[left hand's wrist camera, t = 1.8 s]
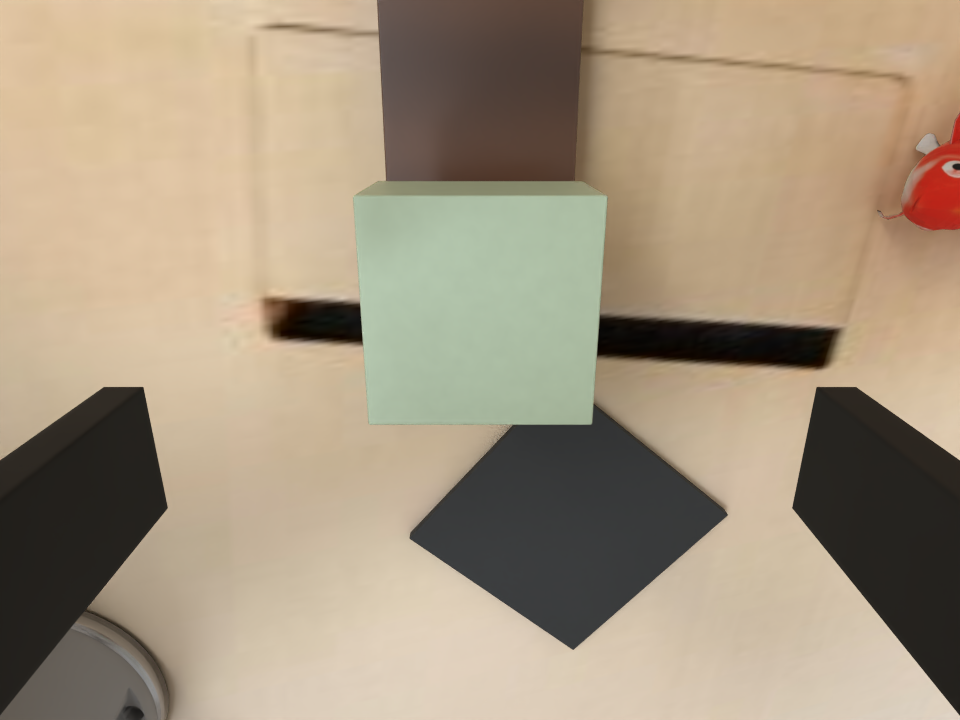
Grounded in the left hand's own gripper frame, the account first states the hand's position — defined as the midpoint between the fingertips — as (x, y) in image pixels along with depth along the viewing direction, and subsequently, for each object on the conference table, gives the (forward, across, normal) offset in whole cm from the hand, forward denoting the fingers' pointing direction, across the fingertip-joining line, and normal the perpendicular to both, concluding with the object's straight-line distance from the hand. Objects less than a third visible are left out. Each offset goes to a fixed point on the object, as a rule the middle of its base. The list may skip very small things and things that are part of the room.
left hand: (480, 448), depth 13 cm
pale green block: (+14, 0, 0) cm, 14 cm away
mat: (+23, -5, +18) cm, 29 cm away
